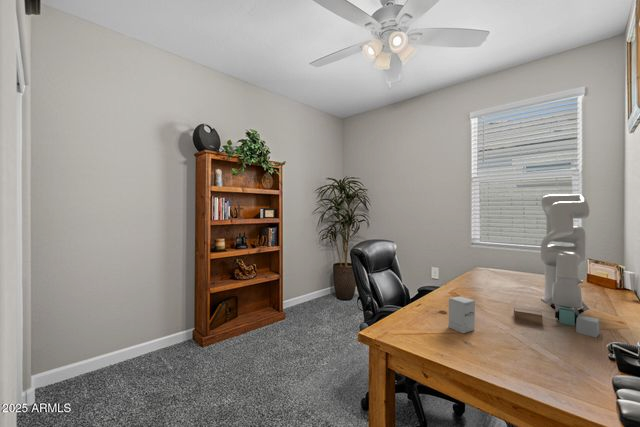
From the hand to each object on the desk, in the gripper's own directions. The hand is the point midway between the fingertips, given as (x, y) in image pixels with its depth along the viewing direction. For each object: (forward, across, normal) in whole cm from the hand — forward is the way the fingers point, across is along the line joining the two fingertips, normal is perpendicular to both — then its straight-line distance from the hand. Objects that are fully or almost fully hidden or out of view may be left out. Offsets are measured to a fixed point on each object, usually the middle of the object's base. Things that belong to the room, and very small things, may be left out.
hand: (566, 321), depth 126 cm
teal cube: (+1, 0, 0) cm, 1 cm away
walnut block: (+1, +14, +7) cm, 16 cm away
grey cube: (+1, -6, +9) cm, 11 cm away
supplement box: (+1, +36, +37) cm, 52 cm away
